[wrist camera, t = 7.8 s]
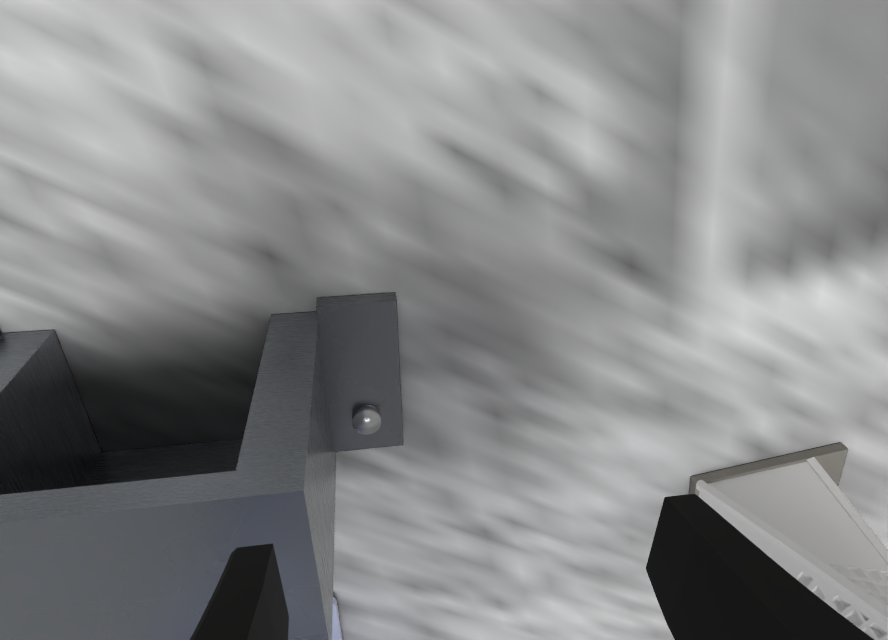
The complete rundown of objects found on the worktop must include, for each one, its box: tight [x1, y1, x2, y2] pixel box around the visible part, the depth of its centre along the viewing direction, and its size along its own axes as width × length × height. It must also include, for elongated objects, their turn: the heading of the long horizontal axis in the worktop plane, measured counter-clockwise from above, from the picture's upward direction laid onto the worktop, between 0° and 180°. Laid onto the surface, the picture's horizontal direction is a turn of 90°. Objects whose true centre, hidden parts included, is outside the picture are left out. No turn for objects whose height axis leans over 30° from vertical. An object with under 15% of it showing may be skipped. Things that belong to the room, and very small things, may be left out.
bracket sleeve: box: [0, 293, 403, 640], centre depth 16 cm, size 6×14×8 cm, turn 90°
